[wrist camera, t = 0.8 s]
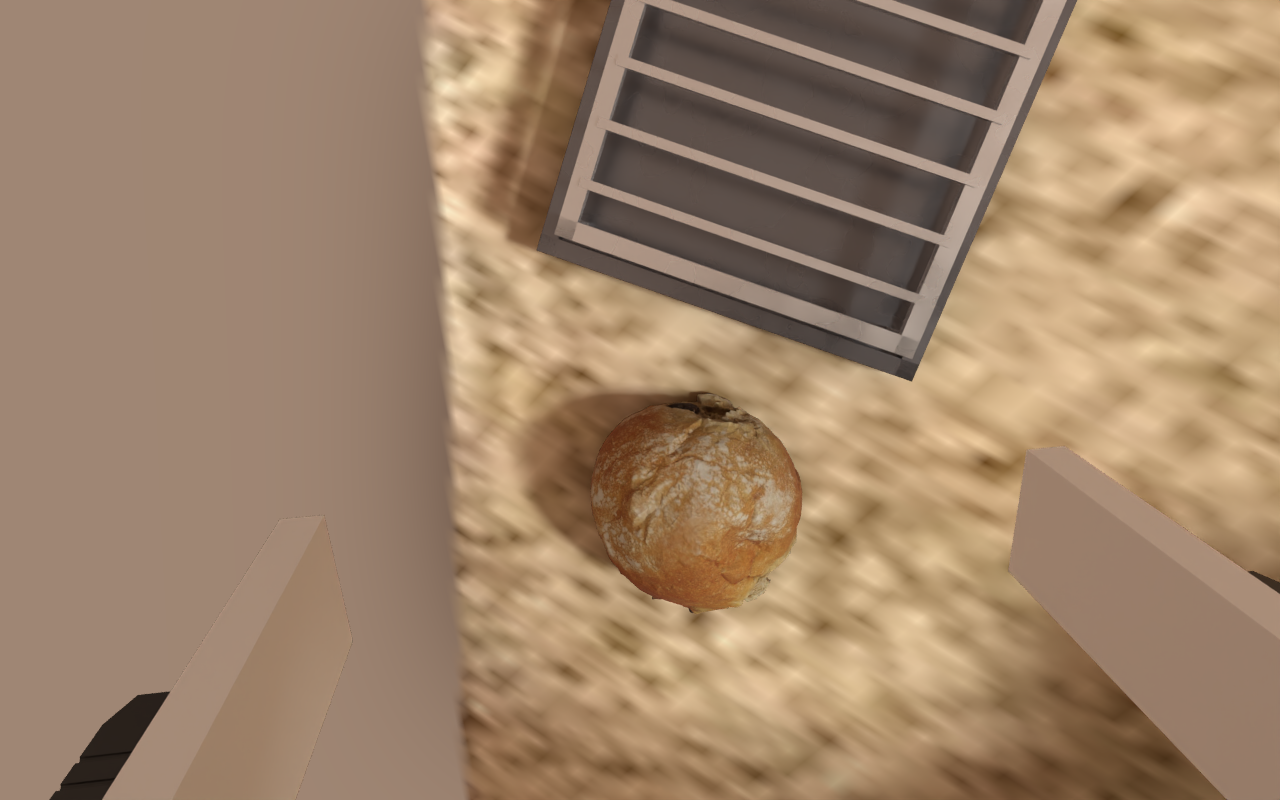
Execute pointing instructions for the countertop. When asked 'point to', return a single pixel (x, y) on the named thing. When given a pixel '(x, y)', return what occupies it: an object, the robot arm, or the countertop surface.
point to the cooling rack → (800, 157)
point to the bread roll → (696, 502)
